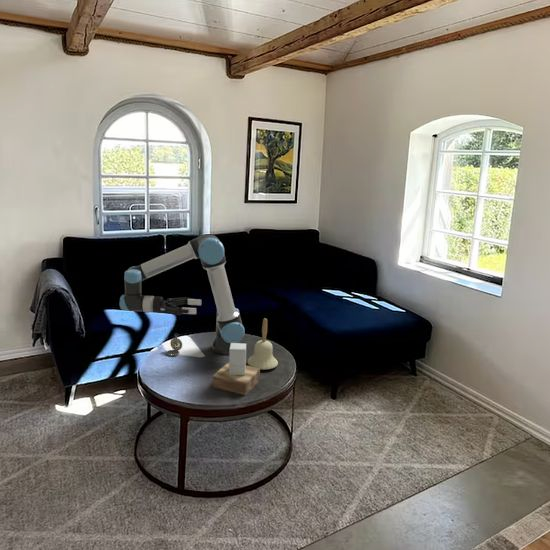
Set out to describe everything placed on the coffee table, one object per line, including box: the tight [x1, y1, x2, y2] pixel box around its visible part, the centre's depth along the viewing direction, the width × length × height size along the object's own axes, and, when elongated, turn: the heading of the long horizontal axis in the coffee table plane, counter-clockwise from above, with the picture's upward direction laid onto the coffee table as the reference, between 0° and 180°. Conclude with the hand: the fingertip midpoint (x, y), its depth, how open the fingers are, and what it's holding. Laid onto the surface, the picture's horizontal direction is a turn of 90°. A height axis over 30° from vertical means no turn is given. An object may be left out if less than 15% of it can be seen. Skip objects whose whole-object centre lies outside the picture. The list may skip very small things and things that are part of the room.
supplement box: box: [228, 342, 247, 375], centre depth 223 cm, size 7×7×13 cm
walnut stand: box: [212, 361, 261, 396], centre depth 225 cm, size 16×16×6 cm
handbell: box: [246, 317, 279, 370], centre depth 244 cm, size 15×15×25 cm
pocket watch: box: [165, 333, 183, 357], centre depth 253 cm, size 8×8×10 cm
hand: (198, 306), depth 232 cm, fingers open, 13 cm apart
